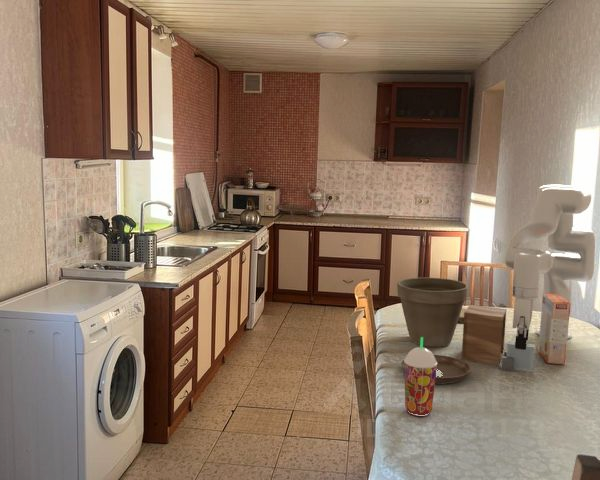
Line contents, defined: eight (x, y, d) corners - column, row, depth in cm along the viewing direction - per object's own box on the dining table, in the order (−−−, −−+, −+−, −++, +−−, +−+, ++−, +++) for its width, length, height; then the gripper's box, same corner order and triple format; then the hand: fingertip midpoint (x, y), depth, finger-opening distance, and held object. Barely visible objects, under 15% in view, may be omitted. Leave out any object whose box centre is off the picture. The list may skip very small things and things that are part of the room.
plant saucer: (394, 381, 167) (395, 370, 167) (407, 360, 186) (408, 350, 186) (466, 392, 160) (467, 381, 159) (472, 369, 179) (473, 359, 179)
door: (506, 365, 183) (508, 341, 182) (533, 369, 179) (535, 345, 178) (505, 368, 180) (507, 343, 179) (532, 372, 177) (534, 347, 176)
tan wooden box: (467, 349, 198) (469, 304, 196) (503, 354, 193) (506, 309, 191) (461, 359, 187) (464, 312, 185) (499, 365, 182) (502, 317, 180)
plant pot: (388, 346, 200) (390, 286, 197) (402, 328, 223) (404, 274, 220) (460, 356, 191) (464, 293, 188) (468, 336, 213) (471, 280, 211)
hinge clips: (501, 361, 186) (502, 350, 185) (515, 363, 184) (516, 352, 183) (498, 369, 178) (499, 357, 178) (513, 371, 177) (514, 359, 176)
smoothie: (398, 405, 149) (401, 332, 147) (428, 405, 150) (432, 332, 147) (406, 419, 141) (410, 342, 138) (439, 419, 142) (443, 342, 139)
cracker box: (566, 365, 183) (571, 302, 181) (546, 363, 185) (551, 301, 182) (555, 352, 197) (560, 293, 194) (537, 350, 198) (542, 292, 196)
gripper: (514, 285, 186) (511, 334, 188) (509, 296, 170) (506, 350, 173) (539, 287, 183) (535, 338, 185) (536, 299, 167) (532, 354, 170)
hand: (521, 344), depth 179 cm, fingers open, 9 cm apart
